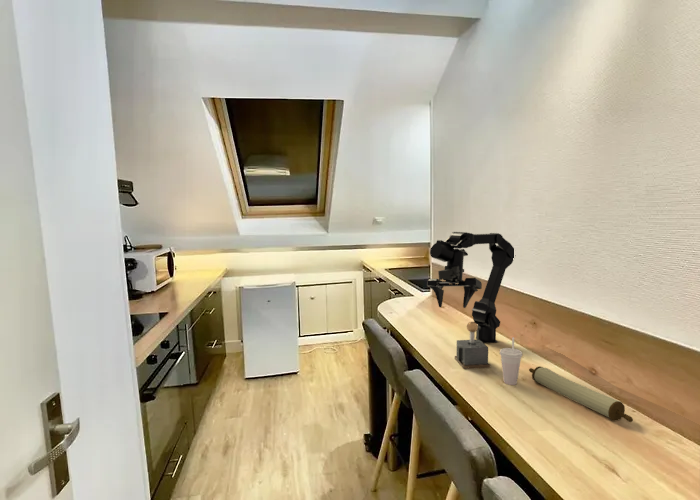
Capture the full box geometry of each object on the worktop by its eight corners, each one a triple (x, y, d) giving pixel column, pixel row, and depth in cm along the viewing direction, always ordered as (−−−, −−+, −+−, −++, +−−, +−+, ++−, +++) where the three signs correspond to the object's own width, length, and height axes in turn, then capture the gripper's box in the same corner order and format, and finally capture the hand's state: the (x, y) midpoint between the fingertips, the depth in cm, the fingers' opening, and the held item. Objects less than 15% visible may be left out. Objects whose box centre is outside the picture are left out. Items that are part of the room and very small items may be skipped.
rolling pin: (522, 378, 125) (522, 363, 125) (536, 375, 127) (536, 360, 127) (623, 431, 95) (624, 411, 95) (640, 426, 97) (641, 406, 97)
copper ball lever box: (479, 357, 143) (480, 338, 142) (490, 367, 134) (490, 347, 133) (453, 358, 142) (453, 339, 141) (462, 368, 133) (462, 348, 132)
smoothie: (523, 387, 119) (525, 341, 117) (500, 386, 120) (501, 340, 118) (519, 378, 125) (520, 334, 123) (497, 377, 126) (498, 333, 125)
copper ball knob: (477, 345, 140) (477, 319, 139) (483, 351, 135) (484, 323, 134) (460, 346, 140) (461, 319, 139) (466, 352, 134) (466, 324, 133)
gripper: (421, 260, 148) (417, 302, 143) (470, 257, 136) (468, 303, 132) (435, 268, 156) (432, 308, 151) (483, 266, 144) (481, 309, 140)
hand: (451, 307), depth 143 cm, fingers open, 9 cm apart
